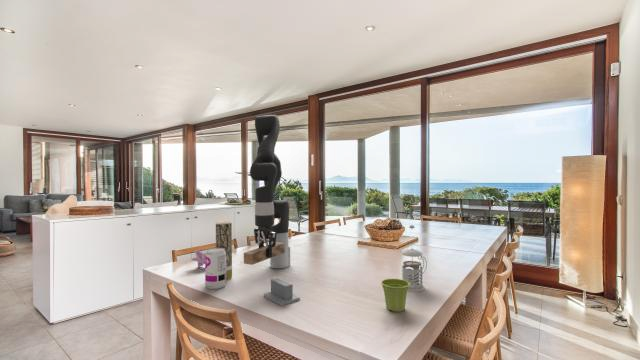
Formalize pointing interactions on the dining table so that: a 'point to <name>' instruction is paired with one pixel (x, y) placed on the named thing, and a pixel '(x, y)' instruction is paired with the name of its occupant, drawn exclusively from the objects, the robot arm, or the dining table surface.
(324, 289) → the dining table surface
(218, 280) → the supplement can
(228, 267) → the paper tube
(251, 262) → the batten
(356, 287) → the dining table surface
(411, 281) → the french press
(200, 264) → the lily
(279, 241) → the robot arm
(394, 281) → the plant pot
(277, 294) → the ridge
